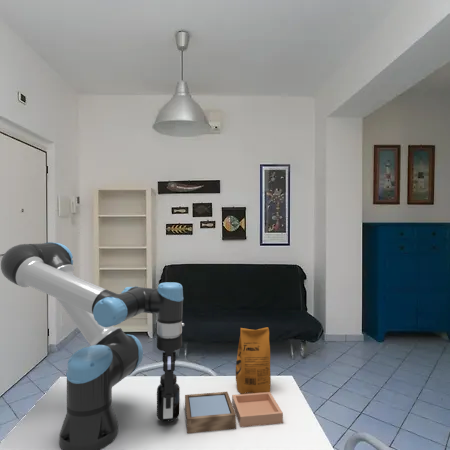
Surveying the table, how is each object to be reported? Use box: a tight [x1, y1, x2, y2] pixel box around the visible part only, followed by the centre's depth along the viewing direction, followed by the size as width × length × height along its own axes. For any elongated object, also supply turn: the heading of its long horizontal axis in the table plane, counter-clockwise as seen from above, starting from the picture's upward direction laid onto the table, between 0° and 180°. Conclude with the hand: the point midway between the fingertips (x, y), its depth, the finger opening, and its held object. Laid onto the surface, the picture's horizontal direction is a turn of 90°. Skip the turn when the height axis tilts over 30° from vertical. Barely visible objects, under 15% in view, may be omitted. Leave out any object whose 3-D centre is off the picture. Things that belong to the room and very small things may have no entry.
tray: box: [231, 391, 284, 428], centre depth 106 cm, size 13×13×3 cm
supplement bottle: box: [156, 373, 181, 423], centre depth 101 cm, size 7×7×12 cm
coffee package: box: [235, 327, 272, 394], centre depth 122 cm, size 10×12×22 cm
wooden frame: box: [184, 391, 237, 434], centre depth 103 cm, size 14×14×4 cm
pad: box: [189, 395, 230, 417], centre depth 103 cm, size 11×11×1 cm
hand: (167, 410), depth 101 cm, fingers closed on supplement bottle, 7 cm apart
